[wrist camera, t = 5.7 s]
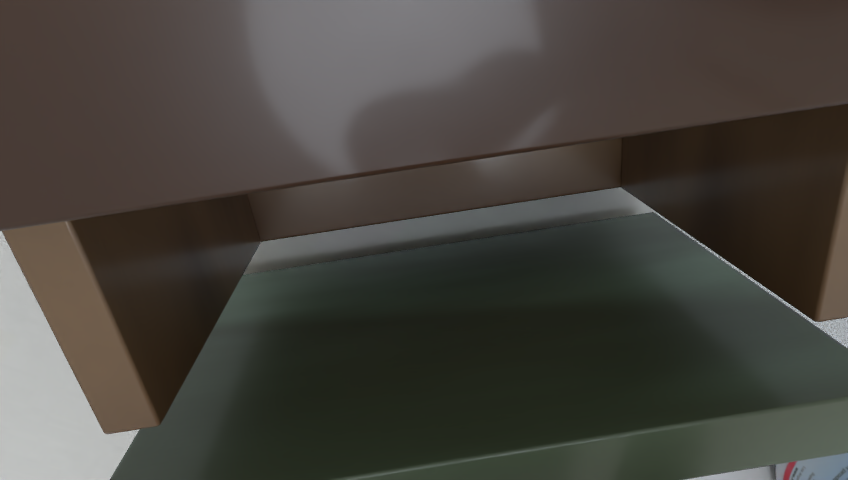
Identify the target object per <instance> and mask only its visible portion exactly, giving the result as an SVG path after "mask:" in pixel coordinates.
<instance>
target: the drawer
mask: <svg viewBox="0 0 848 480" xmlns="http://www.w3.org/2000/svg"><path fill="white" fill-rule="evenodd" d="M617 187H622V188H623V189H624V190H626V191H627V192H629V193H630V194H632V195H633V196H634V197H636V198H637V199H639V200H640V201H642V202H643V203H645V204H646V205H647V206H649V207H650V208H652V209H653V210H655V211H656V212H658V213H659V214H660V215H662V216H663V217H665V218H666V219H668V220H669V221H671V222H672V223H673V224H675V225H676V226H678V227H679V228H681V229H682V230H684V231H685V232H686V233H688V234H689V235H691V236H692V237H694V238H695V239H697V240H698V241H699V242H701V243H702V244H704V245H705V246H707V247H708V248H710V249H711V250H712V251H714V252H715V253H717V254H718V255H720V256H721V257H723V258H724V259H725V260H727V261H728V262H730V263H731V264H733V265H734V266H736V267H737V268H738V269H740V270H741V271H743V272H744V273H746V274H747V275H749V276H750V277H751V278H753V279H754V280H756V281H757V282H759V283H760V284H762V285H763V286H764V287H766V288H767V289H769V290H770V291H772V292H773V293H775V294H776V295H778V296H779V297H780V298H782V299H783V300H785V301H786V302H788V303H789V304H791V305H792V306H793V307H795V308H796V309H798V310H799V311H801V312H802V313H804V314H805V315H806V316H808V317H809V318H811V319H812V320H814V321H817V322H821V321H827V320H833V319H840V318H846V317H848V104H844V105H837V106H831V107H824V108H817V109H811V110H804V111H797V112H791V113H784V114H777V115H771V116H764V117H757V118H751V119H744V120H737V121H731V122H724V123H717V124H711V125H704V126H697V127H691V128H684V129H677V130H671V131H664V132H657V133H651V134H644V135H637V136H631V137H624V138H617V139H611V140H604V141H598V142H591V143H584V144H578V145H571V146H564V147H558V148H551V149H544V150H538V151H531V152H524V153H518V154H511V155H504V156H498V157H491V158H484V159H478V160H471V161H464V162H458V163H451V164H444V165H438V166H431V167H424V168H418V169H411V170H404V171H398V172H391V173H384V174H378V175H371V176H364V177H358V178H351V179H345V180H338V181H331V182H325V183H318V184H311V185H305V186H298V187H291V188H285V189H278V190H271V191H265V192H258V193H251V194H245V195H238V196H231V197H225V198H218V199H211V200H205V201H198V202H191V203H185V204H178V205H171V206H165V207H158V208H151V209H145V210H138V211H131V212H125V213H118V214H111V215H105V216H98V217H92V218H85V219H78V220H72V221H65V222H58V223H52V224H45V225H38V226H32V227H25V228H18V229H12V230H5V231H2V232H3V234H4V236H5V238H6V240H7V242H8V244H9V246H10V248H11V250H12V252H13V254H14V256H15V258H16V260H17V262H18V264H19V266H20V268H21V270H22V272H23V274H24V276H25V278H26V280H27V282H28V284H29V286H30V288H31V290H32V292H33V294H34V296H35V298H36V299H37V301H38V303H39V305H40V307H41V309H42V311H43V313H44V315H45V317H46V319H47V321H48V323H49V325H50V327H51V329H52V331H53V333H54V335H55V337H56V339H57V341H58V343H59V345H60V347H61V349H62V351H63V353H64V355H65V357H66V359H67V361H68V363H69V365H70V367H71V369H72V370H73V372H74V374H75V376H76V378H77V380H78V382H79V384H80V386H81V388H82V390H83V392H84V394H85V396H86V398H87V400H88V402H89V404H90V406H91V408H92V410H93V412H94V414H95V416H96V418H97V420H98V422H99V424H100V426H101V428H102V430H103V432H104V433H105V434H112V433H118V432H124V431H131V430H137V429H140V430H139V431H138V433H137V435H136V436H135V438H134V440H133V442H132V443H131V445H130V447H129V448H128V450H127V452H126V453H125V455H124V457H123V458H122V460H121V462H120V463H119V465H118V467H117V468H116V470H115V472H114V474H113V475H112V477H111V479H110V480H684V479H691V478H697V477H703V476H709V475H715V474H721V473H727V472H734V471H740V470H746V469H752V468H758V467H764V466H771V465H777V464H783V463H789V462H795V461H801V460H807V459H814V458H820V457H826V456H832V455H838V454H844V453H848V348H846V347H845V346H843V345H842V344H841V343H839V342H838V341H836V340H835V339H833V338H832V337H831V336H829V335H828V334H826V333H825V332H823V331H822V330H821V329H819V328H818V327H816V326H815V325H813V324H812V323H811V322H809V321H808V320H806V319H805V318H804V317H802V316H801V315H799V314H798V313H796V312H795V311H794V310H792V309H791V308H789V307H788V306H786V305H785V304H784V303H782V302H781V301H779V300H778V299H776V298H775V297H774V296H772V295H771V294H769V293H768V292H766V291H765V290H764V289H762V288H761V287H759V286H758V285H756V284H755V283H754V282H752V281H751V280H749V279H748V278H746V277H745V276H744V275H742V274H741V273H739V272H738V271H737V270H735V269H734V268H732V267H731V266H729V265H728V264H727V263H725V262H724V261H722V260H721V259H719V258H718V257H717V256H715V255H714V254H712V253H711V252H709V251H708V250H707V249H705V248H704V247H702V246H701V245H699V244H698V243H697V242H695V241H694V240H692V239H691V238H689V237H688V236H687V235H685V234H684V233H682V232H681V231H679V230H678V229H677V228H675V227H674V226H672V225H671V224H669V223H668V222H667V221H665V220H664V219H662V218H661V217H660V216H658V215H657V214H655V213H653V212H652V213H645V214H639V215H632V216H626V217H619V218H613V219H606V220H599V221H593V222H586V223H580V224H573V225H567V226H560V227H554V228H547V229H541V230H534V231H528V232H521V233H515V234H508V235H501V236H495V237H488V238H482V239H475V240H469V241H462V242H456V243H449V244H443V245H436V246H430V247H423V248H416V249H410V250H403V251H397V252H390V253H384V254H377V255H371V256H364V257H358V258H351V259H345V260H338V261H331V262H325V263H318V264H312V265H305V266H299V267H292V268H286V269H279V270H273V271H266V272H260V273H253V274H246V275H243V273H244V272H245V270H246V268H247V266H248V264H249V262H250V261H251V259H252V257H253V255H254V253H255V252H256V250H257V248H258V246H259V244H260V242H262V241H268V240H275V239H281V238H288V237H295V236H301V235H308V234H314V233H321V232H328V231H334V230H341V229H347V228H354V227H360V226H367V225H374V224H380V223H387V222H393V221H400V220H407V219H413V218H420V217H426V216H433V215H439V214H446V213H453V212H459V211H466V210H472V209H479V208H486V207H492V206H499V205H505V204H512V203H518V202H525V201H532V200H538V199H545V198H551V197H558V196H565V195H571V194H578V193H584V192H591V191H597V190H604V189H611V188H617Z"/></svg>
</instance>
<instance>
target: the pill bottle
mask: <svg viewBox="0 0 848 480" xmlns="http://www.w3.org/2000/svg"><path fill="white" fill-rule="evenodd" d="M776 480H848V453H844V454H838V455H832V456H826V457H820V458H814V459H807V460H801V461H795V462H789V463H783V464H777V465H776Z"/></svg>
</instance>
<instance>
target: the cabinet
mask: <svg viewBox="0 0 848 480" xmlns="http://www.w3.org/2000/svg"><path fill="white" fill-rule="evenodd" d="M844 104H848V0H0V231H5V230H12V229H18V228H25V227H32V226H38V225H45V224H52V223H58V222H65V221H72V220H78V219H85V218H92V217H98V216H105V215H111V214H118V213H125V212H131V211H138V210H145V209H151V208H158V207H165V206H171V205H178V204H185V203H191V202H198V201H205V200H211V199H218V198H225V197H231V196H238V195H245V194H251V193H258V192H265V191H271V190H278V189H285V188H291V187H298V186H305V185H311V184H318V183H325V182H331V181H338V180H345V179H351V178H358V177H364V176H371V175H378V174H384V173H391V172H398V171H404V170H411V169H418V168H424V167H431V166H438V165H444V164H451V163H458V162H464V161H471V160H478V159H484V158H491V157H498V156H504V155H511V154H518V153H524V152H531V151H538V150H544V149H551V148H558V147H564V146H571V145H578V144H584V143H591V142H598V141H604V140H611V139H617V138H624V137H631V136H637V135H644V134H651V133H657V132H664V131H671V130H677V129H684V128H691V127H697V126H704V125H711V124H717V123H724V122H731V121H737V120H744V119H751V118H757V117H764V116H771V115H777V114H784V113H791V112H797V111H804V110H811V109H817V108H824V107H831V106H837V105H844Z"/></svg>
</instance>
